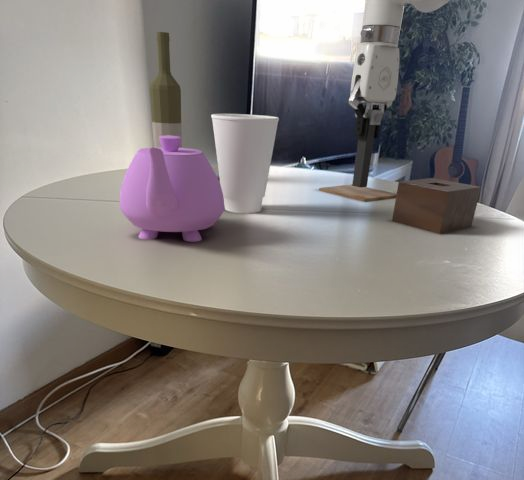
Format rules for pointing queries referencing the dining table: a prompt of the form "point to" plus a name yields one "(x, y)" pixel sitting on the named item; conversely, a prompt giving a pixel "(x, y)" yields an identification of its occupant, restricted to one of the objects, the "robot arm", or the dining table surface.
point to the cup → (244, 158)
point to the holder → (435, 204)
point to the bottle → (165, 96)
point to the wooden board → (358, 192)
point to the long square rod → (365, 151)
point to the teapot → (171, 191)
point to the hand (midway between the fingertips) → (366, 137)
